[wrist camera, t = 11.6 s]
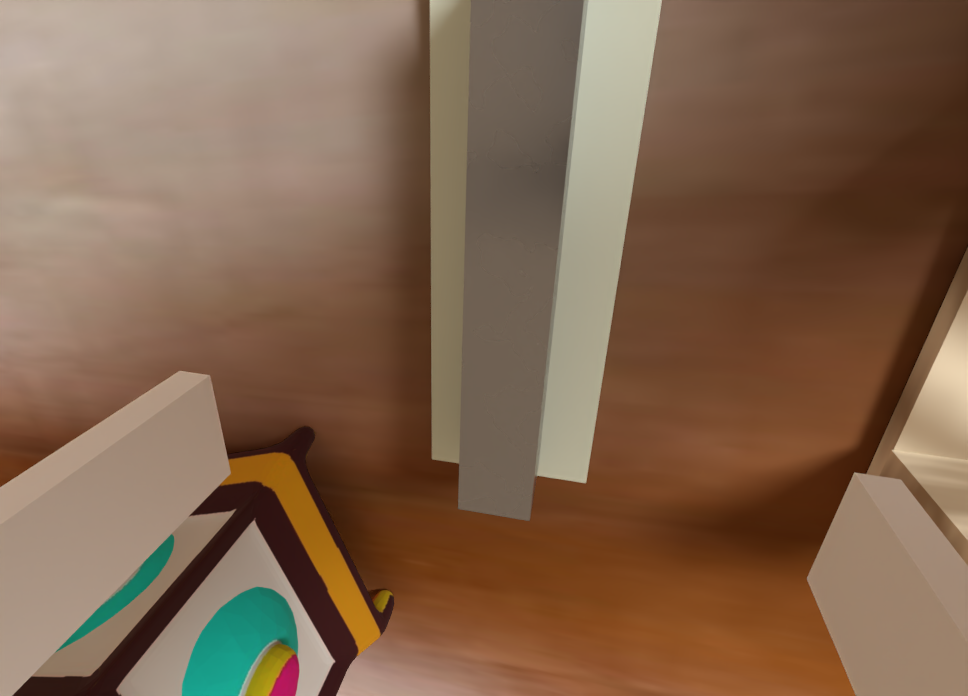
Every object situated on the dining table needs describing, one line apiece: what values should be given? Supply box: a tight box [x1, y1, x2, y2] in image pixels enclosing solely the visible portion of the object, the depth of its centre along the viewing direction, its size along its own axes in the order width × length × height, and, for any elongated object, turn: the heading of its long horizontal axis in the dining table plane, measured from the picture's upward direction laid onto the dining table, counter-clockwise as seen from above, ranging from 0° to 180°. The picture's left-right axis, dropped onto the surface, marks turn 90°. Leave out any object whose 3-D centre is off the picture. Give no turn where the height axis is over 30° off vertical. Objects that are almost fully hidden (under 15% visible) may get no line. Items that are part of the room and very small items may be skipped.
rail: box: [458, 0, 588, 521], centre depth 25 cm, size 26×4×5 cm, turn 178°
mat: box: [430, 0, 662, 483], centre depth 28 cm, size 28×10×1 cm, turn 178°
